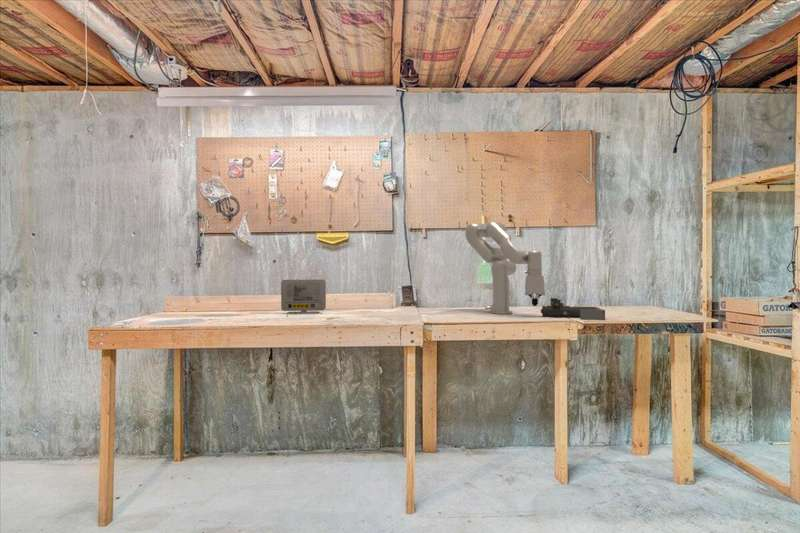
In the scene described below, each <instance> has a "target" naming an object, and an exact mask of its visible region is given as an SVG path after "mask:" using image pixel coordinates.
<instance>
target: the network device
mask: <svg viewBox="0 0 800 533" xmlns="http://www.w3.org/2000/svg"><path fill="white" fill-rule="evenodd" d="M326 284H327V281H326V280H325V279H282V280H281V282H280V295H281V296H280V304H281V305H280V307H281V308H280V309H281V311H284V312H286V315H319V314H321V311H325V310H326V307H327V306H326V305H327V302H326V301H327V298H326V296H327V294H326V293H327V292H326V291H327V288H326V287H327V285H326ZM287 311H288V312H287Z"/></svg>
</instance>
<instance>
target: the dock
mask: <svg viewBox="0 0 800 533" xmlns="http://www.w3.org/2000/svg"><path fill="white" fill-rule="evenodd" d="M573 307H579V306H576V305H575V306H573ZM584 307H585V310H580V317H579V319H580V320H590V321H591V320H593V321H594V320H595V321H596V320H599V321H605V320H606V310H605V309H603V308H601V307H598V306H584Z"/></svg>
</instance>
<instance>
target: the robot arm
mask: <svg viewBox="0 0 800 533" xmlns="http://www.w3.org/2000/svg"><path fill="white" fill-rule="evenodd" d="M465 238H466V239H465V240H466V241H467V243H468V244H469V245H470V246H471V247H472V248H473V250H474V251H475V252H476V253H477V254H478V255H479V256H480V257H481V259H482V260H483V261H484V262H486V263H487V264H492V265H491V268H490V269H491V276H492V305H490V306H489V305H484V309H485V310H489V313H490V314H495V315H496V314H498V315H510V314H513V311H512V310H510V280H509V276H513V274H516V270H517V265H527V270H525V271H524V274H526V275H525V283H524V285H525V286H524V291H525V292H524V295H525V296H529V297H530V298H531V305H532V306H533V307H537V305H539V298H540V297H541V296H545V295H546V294H545V291H546V289H545V277H544V275H542V272H543V271H542V269H543V268H542V264H543V263H542V259H543V258H542V252H541V251H540V250H529V251H526V250H518V249H517V248H516V247H515V246H514V245H513V244H512V243H511V241H512V236H511V235H510V234H509V233H508V232H507V227H506V225H505V224H504V222H503V223H502V222H499V221H490V222H488V223H479V222H473V223H469V224H468V225H467V226H466V228H465ZM484 238H491V239H492V240H493V241H494V242H496V244H497V245H498V246H499V247H493V246H491V244H489V243H488V242H487V241H486V240H485V239H484ZM534 294H535V296H534Z"/></svg>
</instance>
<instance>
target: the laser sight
mask: <svg viewBox="0 0 800 533" xmlns="http://www.w3.org/2000/svg"><path fill="white" fill-rule="evenodd" d="M549 299H550V305H547V306H546V305H542V308H540V314H542V317H545V318H546V317H547V318H580V310H585V307H586V306H578V307H574V306H570V305H564V303H563V302H562V301H561V299H558V298H556V297H555V298H554V297H553V298H549Z"/></svg>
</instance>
